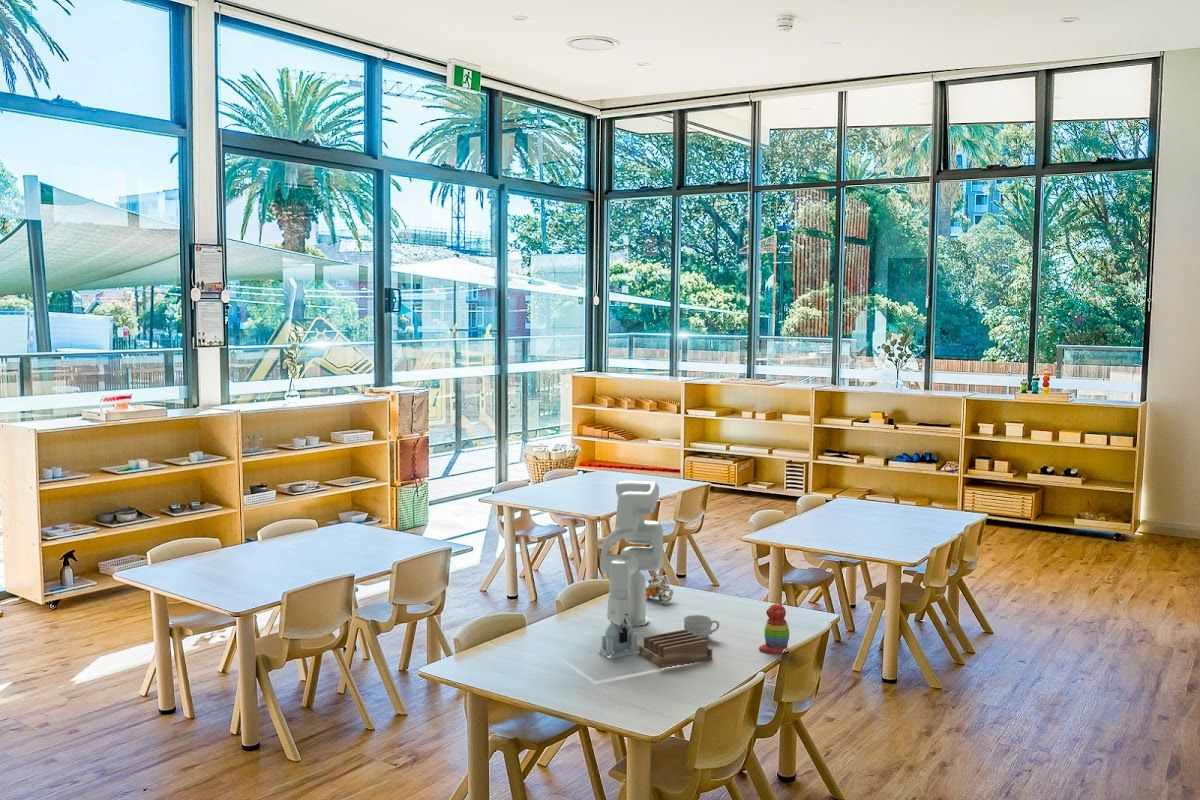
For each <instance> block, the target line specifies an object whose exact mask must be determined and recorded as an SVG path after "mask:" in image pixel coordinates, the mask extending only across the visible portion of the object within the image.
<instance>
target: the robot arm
mask: <svg viewBox="0 0 1200 800" xmlns="http://www.w3.org/2000/svg"><path fill="white" fill-rule="evenodd" d="M615 491H616V492H615V493H616V495H617V504H616V505H617V506H616V514H615V515H616V516H615V525H614V529H613V530H612V531H611V532H610V533H609V534H608V535H607V536H606V537H605V539H604V541H603V543H602V545H601V551H600V558H599V560H600V561H599V568H600V571H601V572H602V573H603V574H604V575H605V574H606V575H609V580H608V581H609V589H608V590H609V595H608V601H607V611H606V612H607V613H606V614H607V615H606V616H607V617H606V618H607V620H608V621H609V622H610V624H611V623H612V622H613V623H614V624H616V625H618V626H620V633H619V643H625V642H627V632H628V630H629V628H630V627H631V625H632V627H640V626H639V625H643V626H646V625H648V624H649V623H650V618H649V617H648V616H647V615H646V612H647V611H646V610H647V609H646V604H647V601H646V600H647V598H646V587H647V586H646V585H647V583H646V581H647V580H646V578H645V576H644V574H643V573H642V572H641V571H648V572H649V571H650V572H653V571H655V572H657V571H660V570H661V569H662V567H663V564H664V530H663V525H662V524H661V522H659V521H656V520H646V519H645V516H646V514H647V515H649V514H652V513H654V511H655V509H656V506H657V502H658V500H659V495H660V487H659V485H658V483H657V482H655V481H647V480H646V481H642V480H641V481H640V480H621V481H618V482H617V483H616V485H615ZM623 539H624V540H625V542H626V543H628V544H635V545H649V546H635V545H634V546H626V547H624V548H623V549H621V551H620V553H619V554H615V553H614V554H613V553H610V550H611V547H612V546H613V545H615V544H616V543H618V542H619V541H621V540H623ZM623 622H624V623H625V624H623ZM647 623H648V624H647ZM630 624H631V625H630ZM645 624H646V625H645ZM622 626H625V627H624V628H623V627H622Z"/></svg>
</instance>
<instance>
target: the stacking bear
mask: <svg viewBox="0 0 1200 800" xmlns="http://www.w3.org/2000/svg"><path fill="white" fill-rule="evenodd" d="M765 613H766V616H767V617H768V619H767V620H766V622H765V627H764V631H763V632H764V634H763V635H764V641H765V643H764V644H762V645H760V646H759V647H758V650H759V651H760V652H762V653H766V654H773V655H782V652H783V650H784V649H786V648H787V647H788V648H789V645H788V643H789V640H790V628H789V624H788V622H787V620H786V619H785V618H786V614H787V611H786V608H785V607H784V606H783V604H782V603H781V602H779V603H774V604H772V605H770V607H768V609H766V610H765ZM759 651H758V652H759Z"/></svg>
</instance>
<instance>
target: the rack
mask: <svg viewBox="0 0 1200 800" xmlns="http://www.w3.org/2000/svg"><path fill="white" fill-rule="evenodd" d="M638 655H640V656H642V657H643V658H645V659H646V660H648V661H650V662H651V663H654V664H656V665H657V666H659V668H660V667H661V668H666V667H672V666H677V665H684V664H689V665H691V664H690V663H693V664H696V663H695V662H698V663H702V662H701V661H703V662H706V661H705V660H708V661H712V660H713V648H711V647H709V640H708V639H703V637H698V635H697V634H695V635H693V632H688V630H687V629H685V630H684V629H680V630H674V631H670V632H664V633H659V634H652V635H648V636H643V645H640V646H639V653H638ZM711 659H712V660H711ZM684 666H685V665H684Z"/></svg>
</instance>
